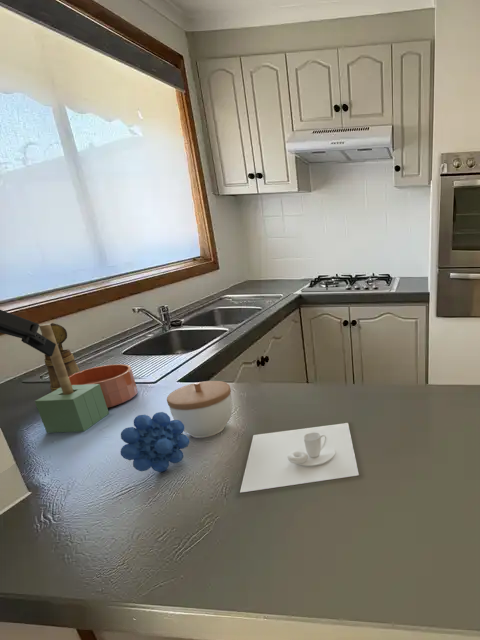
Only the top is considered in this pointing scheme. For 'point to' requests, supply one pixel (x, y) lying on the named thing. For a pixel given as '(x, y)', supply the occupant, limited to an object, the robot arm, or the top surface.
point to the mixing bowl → (109, 382)
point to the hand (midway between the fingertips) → (20, 351)
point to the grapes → (154, 442)
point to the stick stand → (72, 409)
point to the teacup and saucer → (299, 457)
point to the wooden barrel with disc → (66, 355)
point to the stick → (57, 361)
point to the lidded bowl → (202, 407)
